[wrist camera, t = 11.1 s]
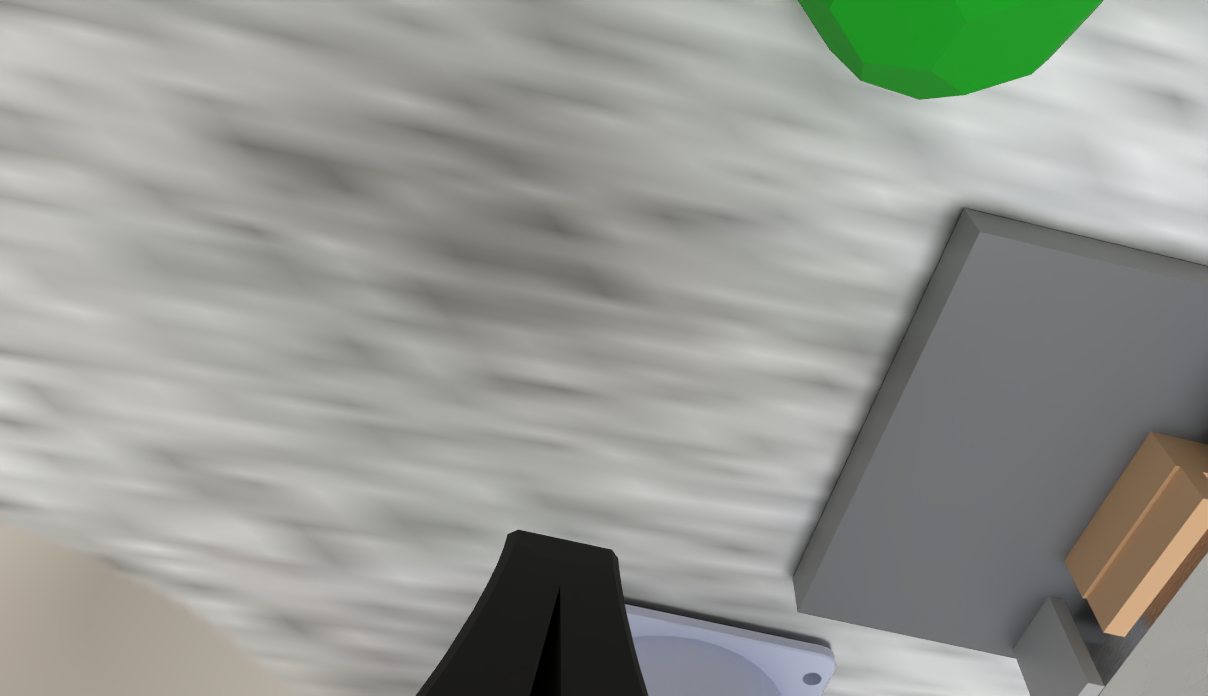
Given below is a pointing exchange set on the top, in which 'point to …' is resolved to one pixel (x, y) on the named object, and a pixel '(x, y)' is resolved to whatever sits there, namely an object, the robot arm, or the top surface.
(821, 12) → the polyhedron
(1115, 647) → the grey flat bar
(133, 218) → the top surface
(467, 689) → the robot arm
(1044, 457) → the mount board
